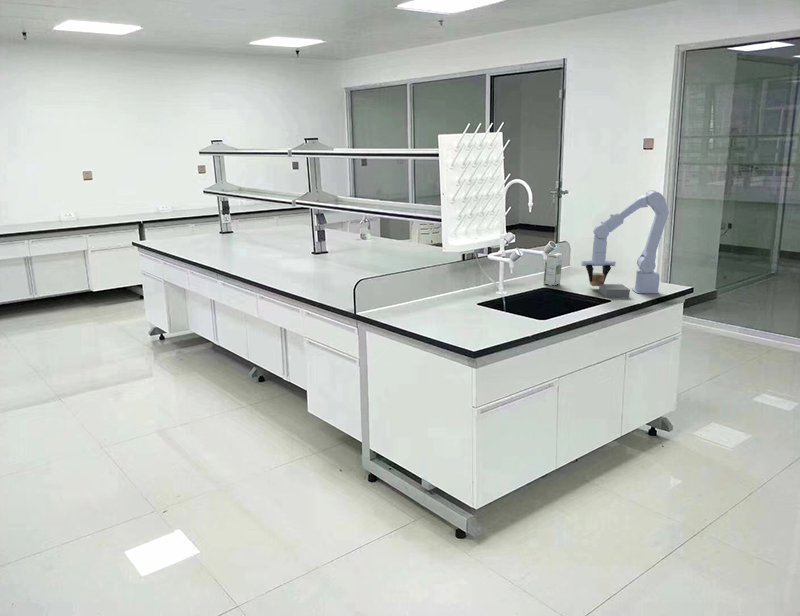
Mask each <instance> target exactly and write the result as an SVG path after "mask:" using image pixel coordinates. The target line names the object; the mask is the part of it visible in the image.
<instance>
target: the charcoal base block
mask: <svg viewBox="0 0 800 616" xmlns="http://www.w3.org/2000/svg"><path fill="white" fill-rule="evenodd" d="M630 292H631V289H630V288H629V287H627V286H625V285H624V284H621V283H619V284H618V283H617V284H616V283H614V284H612V283H607V284H606V283H604V284H599V286H598V293H599V294H600V293H601V294H600V295H602V296H603V297H604V298H605V297H606V299H609V298H610V299H614V298H615V299H620V298H619V297H629V298H630Z"/></svg>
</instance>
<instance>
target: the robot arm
mask: <svg viewBox="0 0 800 616" xmlns="http://www.w3.org/2000/svg"><path fill="white" fill-rule="evenodd" d="M649 207H650V208H651V209H652V210H653V213H654V218H653V220H652V224H651V227H650V231H649V233H648V236H647V240H646V243H645V246H644V249H643V250H642V252H641V254H640V256H639V257H638V258H637V260H636V264H637V267H638V268H637V269H636V272H635V273H636V275H635V284H634V287H632V288H631V290H632V291H634V292H635V293H636V294H659V293H660V292H659V289H660V287H659V286H660V273H659V272H657V271H655V269H656V259H657V250H658V247H659V245H660V241H661V239H662V235H663V232H664V229H665V225H666V223H667V220H668V216H669V208H668V205H667V202H666V198H665V197H664V196H663V194H662V193H660V192H659V191H656V190H652V189H651V190H648V191H646V193H645V194H644V193H643V194H642V195H640V196H639V197H638V198H636V199H635V200H634V201H632V202H631V203H630V204H629V205H628V206H626V207H625V208H624V209H622V210H621V211H620V212H614V213H610V214H609V216H608V218H606V219H605V220H603V221H601V222H600V224H597V225H595V226H594V228H593V234H594V237H593V243H592V256H591V258H592V259H591V260H582V261H581V266H582V267H585V269H586V272H587V274H588V280H589V281H588V282H589V283H590V282H592V274H593V273H594V267H596V266H597V267H601V266H602V273H603V274H604V275H605V278H604V283H605V282H606V278H607V276H608V274H609V272H611V271H610V270H612V267H616V264H617V263H616V261H614V260H613V261H612V260H606V259H607V258H606V257H607V256H606V255H607V246H608V241H607V239H608V237H609V235H610V233H611V232H613V231H614V230H615V229H617V228H618V227H620V226H621V225H623V224H624V220H625V219H626V218H627V217H629V216H630V215H631V214H633V213H635V212H636V211H638V210H640V209H642V208H649ZM593 266H594V267H593Z"/></svg>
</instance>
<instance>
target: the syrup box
mask: <svg viewBox="0 0 800 616" xmlns="http://www.w3.org/2000/svg"><path fill="white" fill-rule="evenodd" d="M547 254H548V253H547ZM545 260H546V259H545ZM562 264H563V254H562V253H559V252H549V254H548V256H547V260H546V261H545V263H544V275H543V285H545V284H551V285H550V286H552V285H556V286H558V285H560V284H561V277H562V276H561V275H562ZM557 284H558V285H557Z"/></svg>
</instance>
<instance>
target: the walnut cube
mask: <svg viewBox="0 0 800 616" xmlns="http://www.w3.org/2000/svg"><path fill="white" fill-rule="evenodd" d="M604 278H605V275H604V274H603V272H593V274H592V282H590V281H589V285H590V286H592V287H599V284H605V282H604Z"/></svg>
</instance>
